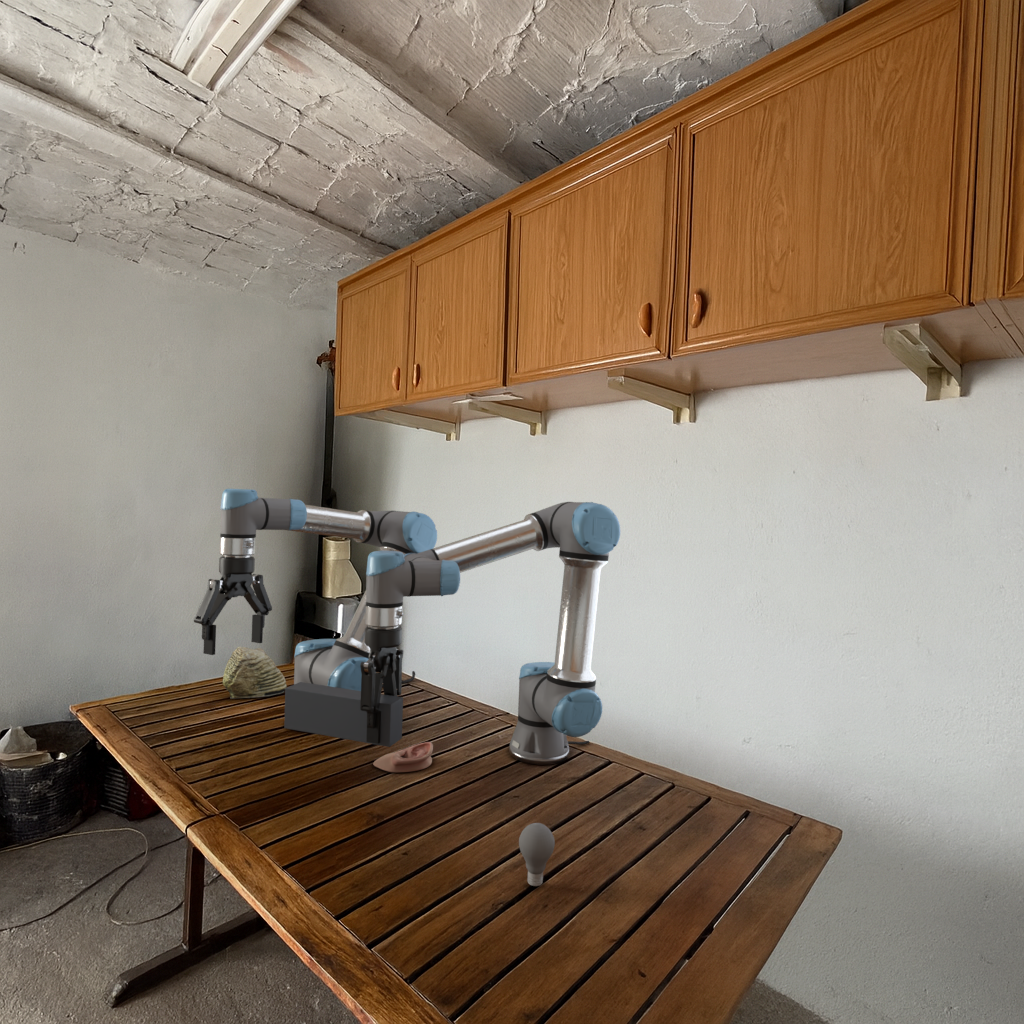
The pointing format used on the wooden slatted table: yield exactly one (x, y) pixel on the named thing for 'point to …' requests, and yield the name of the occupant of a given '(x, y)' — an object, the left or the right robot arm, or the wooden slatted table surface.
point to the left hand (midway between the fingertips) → (234, 648)
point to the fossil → (252, 674)
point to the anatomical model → (407, 759)
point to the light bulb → (536, 850)
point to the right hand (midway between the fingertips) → (380, 736)
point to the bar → (339, 713)
